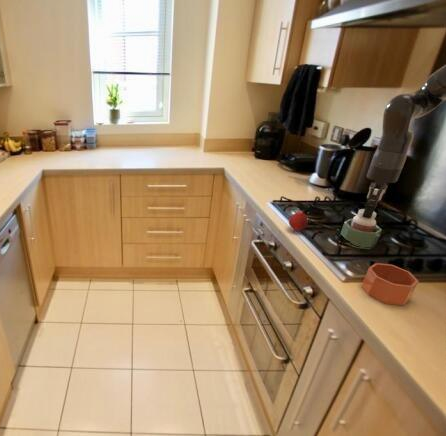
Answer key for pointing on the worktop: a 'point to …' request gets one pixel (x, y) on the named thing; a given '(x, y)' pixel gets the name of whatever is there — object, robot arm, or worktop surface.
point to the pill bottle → (363, 222)
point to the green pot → (360, 236)
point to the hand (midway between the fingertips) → (368, 212)
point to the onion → (298, 221)
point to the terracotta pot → (389, 284)
